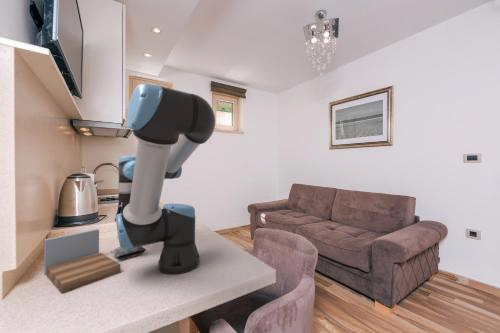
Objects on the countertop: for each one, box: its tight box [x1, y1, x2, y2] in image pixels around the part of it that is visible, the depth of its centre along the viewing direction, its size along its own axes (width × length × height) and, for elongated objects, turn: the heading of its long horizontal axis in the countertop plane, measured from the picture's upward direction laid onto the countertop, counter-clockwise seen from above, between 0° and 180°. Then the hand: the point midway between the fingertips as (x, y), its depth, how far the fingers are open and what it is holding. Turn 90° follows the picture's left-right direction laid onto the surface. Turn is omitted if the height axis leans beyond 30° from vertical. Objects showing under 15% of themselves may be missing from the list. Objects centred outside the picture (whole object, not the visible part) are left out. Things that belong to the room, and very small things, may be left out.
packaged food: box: [110, 245, 147, 261], centre depth 90 cm, size 9×12×5 cm
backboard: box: [43, 228, 100, 276], centre depth 81 cm, size 2×16×12 cm, turn 144°
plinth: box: [46, 252, 121, 295], centre depth 74 cm, size 18×16×3 cm
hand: (128, 241), depth 91 cm, fingers open, 13 cm apart
